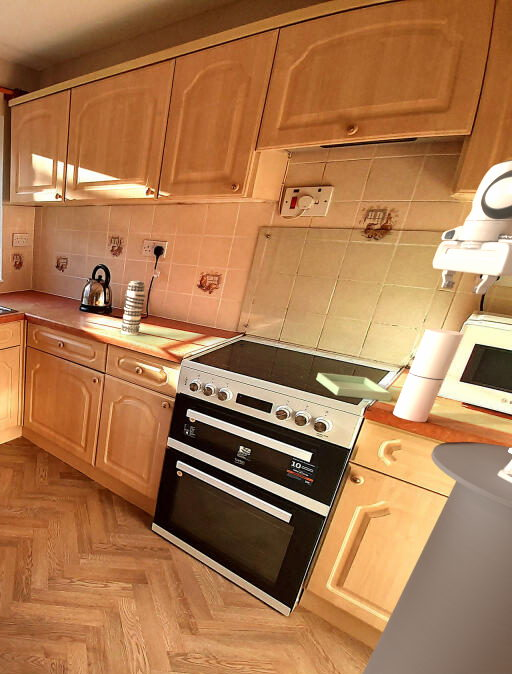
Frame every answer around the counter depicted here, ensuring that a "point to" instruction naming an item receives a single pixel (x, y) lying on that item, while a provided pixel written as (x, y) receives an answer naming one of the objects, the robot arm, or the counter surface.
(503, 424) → the counter surface
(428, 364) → the cylindrical container
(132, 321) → the leaning tower model
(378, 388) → the tray
